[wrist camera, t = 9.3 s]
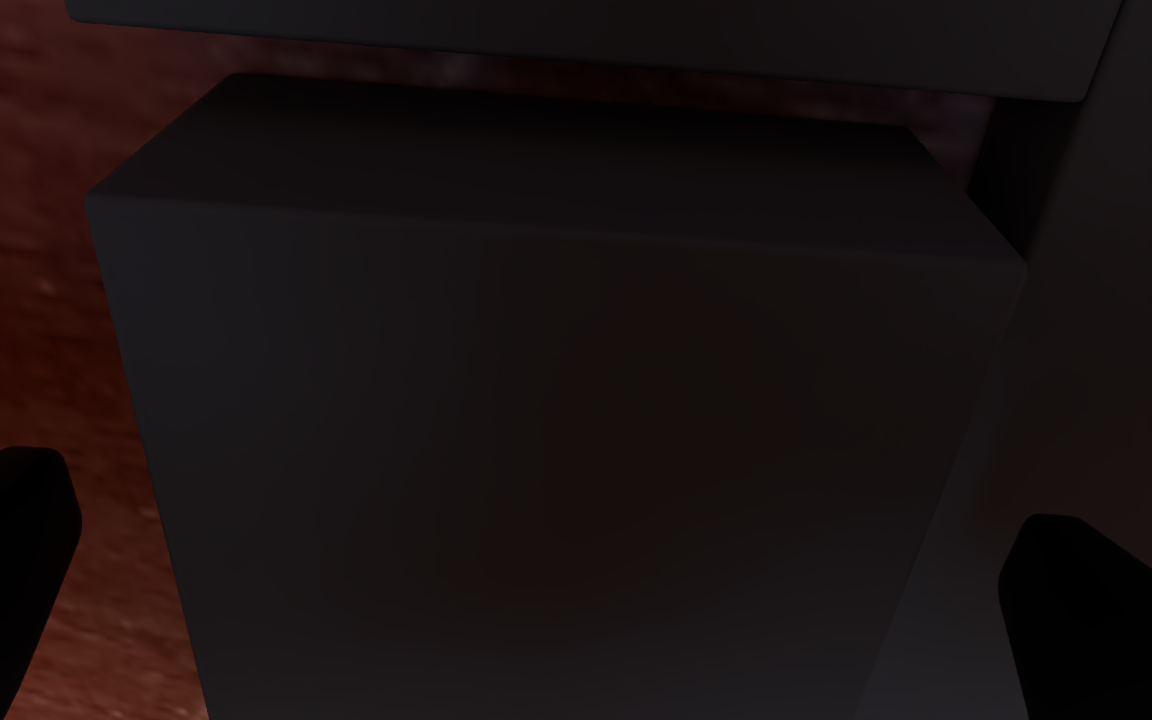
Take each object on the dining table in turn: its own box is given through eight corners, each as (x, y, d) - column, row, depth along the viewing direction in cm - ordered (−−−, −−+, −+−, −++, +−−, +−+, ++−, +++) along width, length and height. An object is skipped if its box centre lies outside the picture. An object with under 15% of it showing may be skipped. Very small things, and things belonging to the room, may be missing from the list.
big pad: (276, 725, 14) (245, 818, 13) (68, -455, 7) (-57, -506, 5) (1084, 773, 15) (1130, 867, 13) (1786, -290, 7) (2048, -302, 6)
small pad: (295, 561, 12) (216, 767, 10) (227, 70, 9) (75, 195, 6) (776, 593, 12) (824, 803, 10) (909, 125, 9) (1036, 266, 6)
